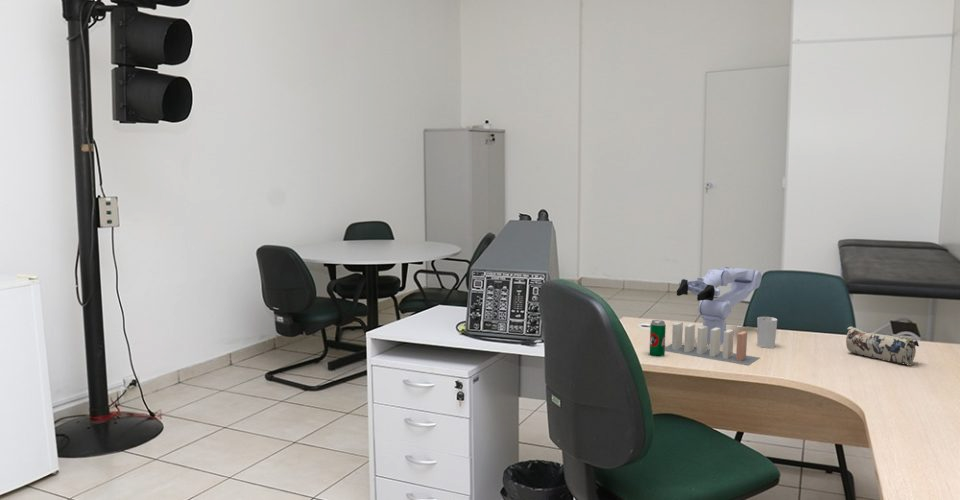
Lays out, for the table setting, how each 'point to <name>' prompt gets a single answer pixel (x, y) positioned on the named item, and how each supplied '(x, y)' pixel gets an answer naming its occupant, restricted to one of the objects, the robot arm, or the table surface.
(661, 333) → the soda can
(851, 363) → the table surface
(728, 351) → the domino
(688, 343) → the domino
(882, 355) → the pencil case
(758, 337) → the drinking glass
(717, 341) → the domino
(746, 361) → the felt mat
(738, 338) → the domino
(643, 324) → the table surface
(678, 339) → the domino
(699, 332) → the domino
